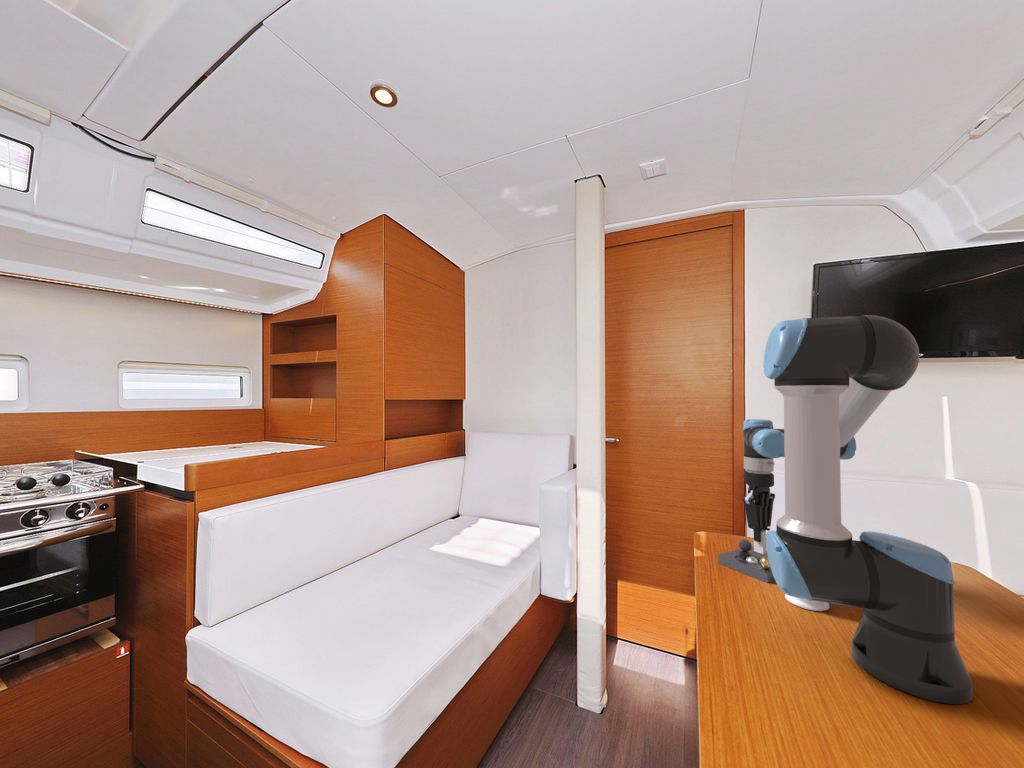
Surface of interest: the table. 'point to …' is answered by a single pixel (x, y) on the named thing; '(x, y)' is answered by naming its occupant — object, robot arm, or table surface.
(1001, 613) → the table surface
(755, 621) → the table surface
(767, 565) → the brass ball
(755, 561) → the ball
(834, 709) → the table surface
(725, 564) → the plate
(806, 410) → the robot arm
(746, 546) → the black ball
